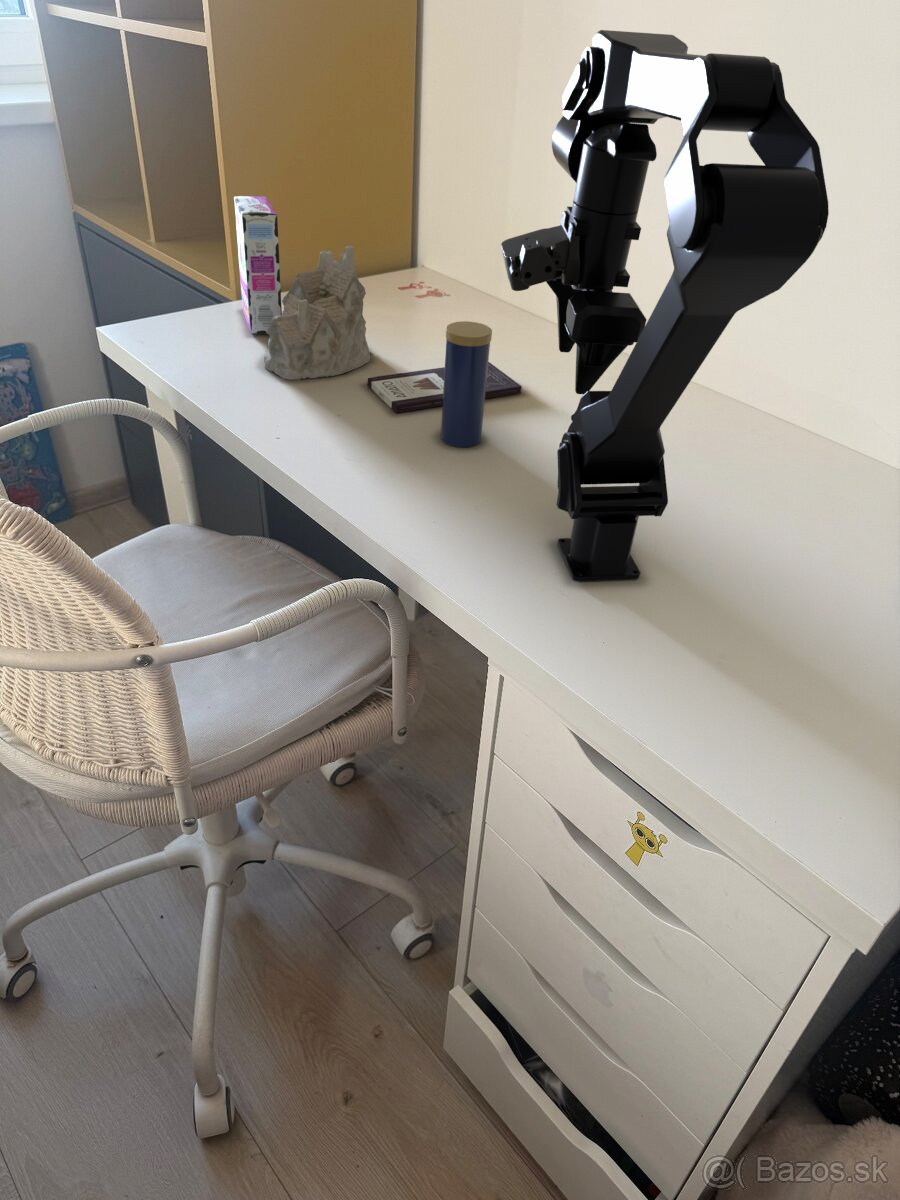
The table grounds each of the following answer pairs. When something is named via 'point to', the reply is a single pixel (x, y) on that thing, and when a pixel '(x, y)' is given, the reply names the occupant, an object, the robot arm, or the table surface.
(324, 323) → the ceramic cottage
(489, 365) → the chocolate bar
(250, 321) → the candy bar box
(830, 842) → the table surface
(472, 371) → the blue canister
